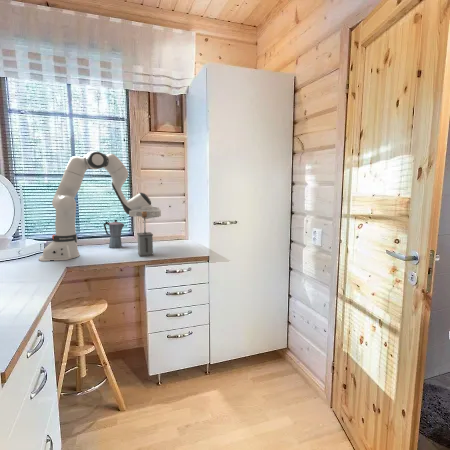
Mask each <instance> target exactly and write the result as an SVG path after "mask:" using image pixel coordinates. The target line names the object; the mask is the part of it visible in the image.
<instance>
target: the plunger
mask: <svg viewBox="0 0 450 450" xmlns="http://www.w3.org/2000/svg"><path fill="white" fill-rule="evenodd" d="M142 217H143V218H142ZM142 217H141V218H142V219H143V233H144V234H146V232H147V230H146V229H147V228H146V227H147V223H146V222H147V221H146V220H147V219H145V217H147V211H142Z"/></svg>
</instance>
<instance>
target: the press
mask: <svg viewBox="0 0 450 450" xmlns="http://www.w3.org/2000/svg"><path fill="white" fill-rule="evenodd" d="M136 235H137V255H138V256H139V257H140V258H141V257H142V258H143V257H153V256H154V250H153V249H154V246H153V245H154V243H153V236H154V234H153V233H152V232H149V231H146V234H144V232H137V234H136Z"/></svg>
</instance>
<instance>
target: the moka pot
mask: <svg viewBox="0 0 450 450" xmlns="http://www.w3.org/2000/svg"><path fill="white" fill-rule="evenodd" d="M107 225H108V227H109V228H108V229H109V232H108V230H107ZM124 226H125V223H123V222H118V220H117V219H114V221H111V222H109V221H105V222H104V224H103V227H104V228H103V229H104V230H105V233H106V235H107V236H110V238H109V244H108V247H109V248H112V249H119V248H122V246H123V244H122V230H123V228H124Z"/></svg>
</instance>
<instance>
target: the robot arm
mask: <svg viewBox="0 0 450 450" xmlns="http://www.w3.org/2000/svg"><path fill="white" fill-rule="evenodd" d="M102 168H103V169H105V170H106V171H107V173H108V174H109V175H110V177H111V180H112V181H111V186H112V189H113V191H114V193H115V194H116V197H117V198H118V200H119V202H120V204H121V207H122V209H123V211H124V212H125V213H126V214H127V215H129V217H131V218H132V217H133V218H134V217H141V218H142V219H144V218H143V217H142V211H147V217H145V220H148V219H153V218H154V219H155V218H159V217H161V216H162V210H161V209H160V208H159V207H154V206H153V205H152V200H151V198H150V197H149V196H148V195H147V194H146V193H144V192H138V193H137V194H135V195H134V196H133V197H131V198H130V199H126V197H125V194H124V193H123V191H122V187H123V186H124V184H125V182H126V181H127V179H128V177H129V171H128V169H127V168H126V166H125V164H124V163H123V162H122V161H121V160H120V158H118V157H117V156H116V155H115V154H114V153H107V154H104V153H102V152H100V151H90V152H88V153H86V154H84V155H83V156H79V155H78V156H77V155H75V156H71V158H70V159H69V161H68V163H67V164H66V167H65V169H64V172H63V174H62V177H61V180H60V182H59V185H58V186H57V189H56V191H55V194H54V196H53V199H52V201H51V204H52V207H53V209H54V210H55V221H54V228H55V234H52V235H51V237H52V238H51V239H52V241H51V242H50V243H49V244H48V245H46V246H45V247H44V249H43V251H42V255H40V256H39V257H38V260H39V261H40V262H50V260H54V261H68V260H71V259H75V258H79V257H80V255H81V254H80V252H79V249H78V235H77V233H76V230H77V229H76V216H77V215H76V214H77V212H76V211H77V202H76V199H75V198H76V196H77V194H78V192H79V190H80V188H81V185H82V183H83V180H84V177H85V173H86V172H87V170H99V169H102Z"/></svg>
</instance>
